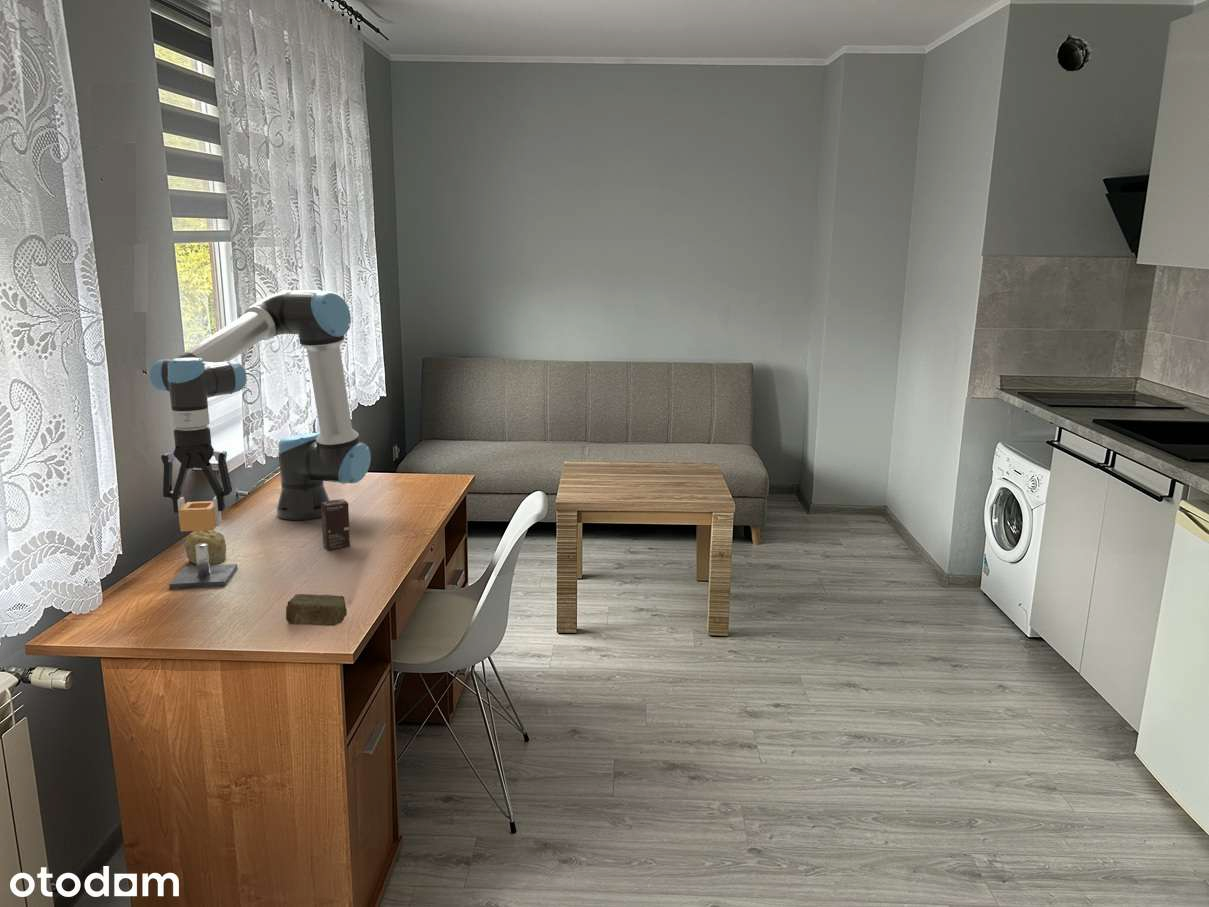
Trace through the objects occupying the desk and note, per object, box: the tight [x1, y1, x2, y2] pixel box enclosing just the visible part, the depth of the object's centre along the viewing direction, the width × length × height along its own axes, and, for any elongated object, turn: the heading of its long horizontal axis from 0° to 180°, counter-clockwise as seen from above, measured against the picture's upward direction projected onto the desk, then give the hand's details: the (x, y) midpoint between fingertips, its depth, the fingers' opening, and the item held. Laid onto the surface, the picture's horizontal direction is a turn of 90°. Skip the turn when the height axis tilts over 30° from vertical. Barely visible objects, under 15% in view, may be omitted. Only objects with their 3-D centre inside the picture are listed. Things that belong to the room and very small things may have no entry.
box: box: [321, 498, 351, 551], centre depth 236 cm, size 6×4×12 cm
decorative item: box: [184, 529, 227, 566], centre depth 227 cm, size 10×10×10 cm
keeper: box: [168, 543, 239, 590], centre depth 214 cm, size 12×12×8 cm
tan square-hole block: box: [178, 500, 218, 532], centre depth 211 cm, size 7×7×5 cm
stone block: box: [285, 593, 348, 627], centre depth 190 cm, size 6×12×5 cm, turn 84°
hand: (201, 525), depth 212 cm, fingers closed on tan square-hole block, 7 cm apart
